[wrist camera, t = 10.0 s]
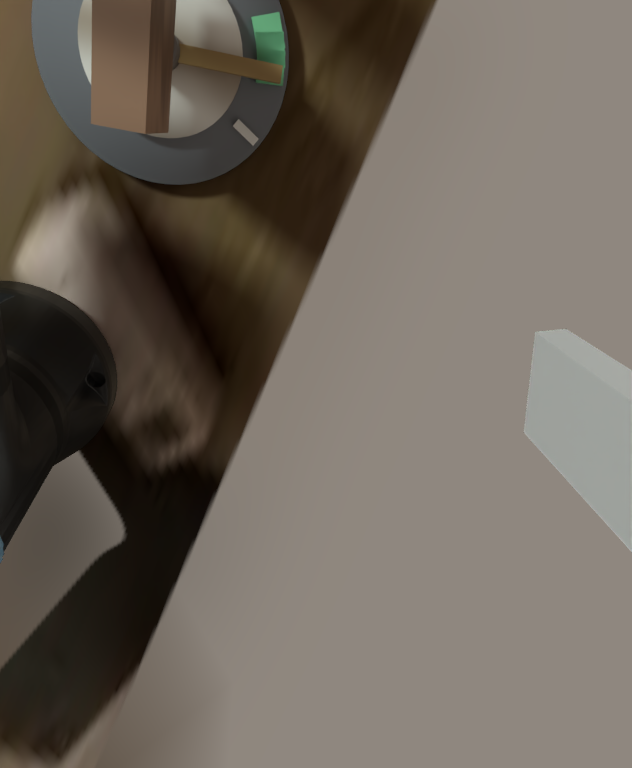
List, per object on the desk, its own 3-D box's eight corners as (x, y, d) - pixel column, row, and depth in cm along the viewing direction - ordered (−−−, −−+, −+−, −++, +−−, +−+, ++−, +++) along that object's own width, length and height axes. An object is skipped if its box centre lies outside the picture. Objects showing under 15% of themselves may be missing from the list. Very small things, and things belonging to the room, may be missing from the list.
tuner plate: (189, 229, 41) (186, 233, 40) (-10, 59, 35) (-23, 55, 34) (335, 52, 37) (339, 48, 36) (139, -172, 32) (133, -188, 30)
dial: (269, 157, 38) (278, 169, 27) (81, 122, 36) (1, 119, 24) (292, -14, 34) (314, -86, 23) (81, -65, 32) (-14, -173, 20)
